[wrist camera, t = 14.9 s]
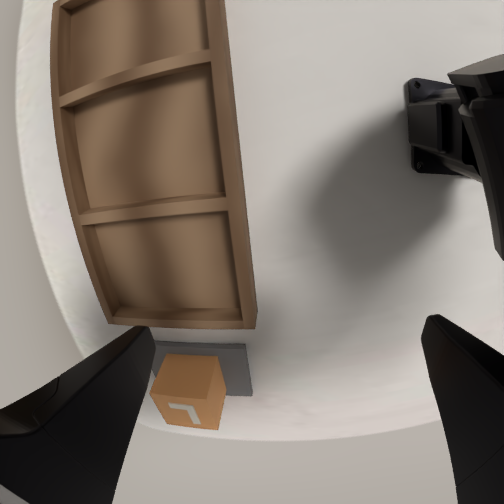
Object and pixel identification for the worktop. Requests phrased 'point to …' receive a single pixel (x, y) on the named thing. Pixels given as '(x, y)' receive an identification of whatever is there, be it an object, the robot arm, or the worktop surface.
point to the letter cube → (190, 391)
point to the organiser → (153, 160)
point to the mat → (229, 359)
